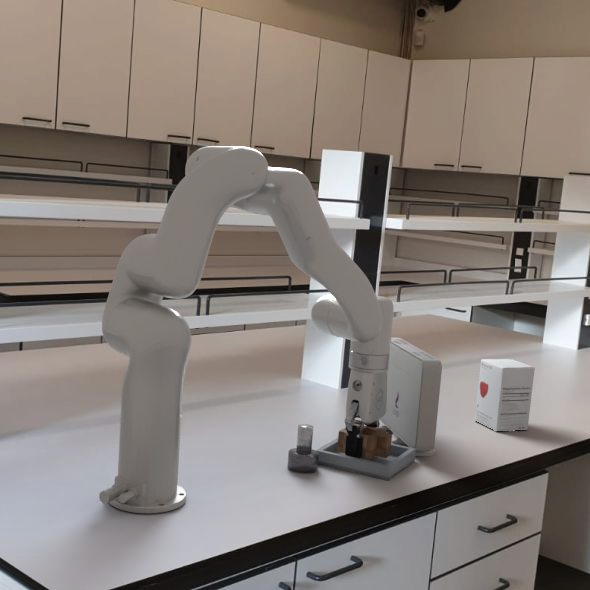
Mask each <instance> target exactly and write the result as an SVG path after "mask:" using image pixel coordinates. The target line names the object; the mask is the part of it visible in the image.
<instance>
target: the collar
mask: <svg viewBox="0 0 590 590" xmlns="http://www.w3.org/2000/svg"><path fill="white" fill-rule="evenodd" d="M354 425H356V426H357V429H358V428H359V424H354ZM387 431H388V430H384V429H379V428H374V427H369V426H366V425H364V428H363V432H362V436H361V437H363V447H362V457H364V458H368V459H372V458H374V457H375V456H378V457H382V458H387V457H388V456H390V453H391V441H392V435H393V434H390V433H387ZM337 436H338V437H337V438H338V447H337V452H341V453H345V448H346V427H344V428H341V429H339V430H338V435H337Z"/></svg>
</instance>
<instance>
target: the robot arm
mask: <svg viewBox="0 0 590 590" xmlns="http://www.w3.org/2000/svg"><path fill="white" fill-rule="evenodd" d="M184 171H185V172H184V174H185V176H184V177H183V178H182V179H181V180H180V181H179V182H178V184H177V185H176V187H175V189H174V190H173V191H172V193H171V195H170V196H169V199H168V201H167V204H166V207H165V210H164V213H163V215H162V218H161V220H160V223H159V227H158V230H157V232H156V233H149V234H148V233H147V234H142V235H139V236H137V237H135V238H134V239H132V240H131V242H129V244H128V245H126V246H125V249H124V250H123V251H122V254H121V255H120V258H119V260H118V262H117V266H116V268H115V273H114V276H113V279H112V282H111V286H110V289H109V292H108V296H107V299H106V302H105V305H104V310H103V314H102V321H101V331H102V336H103V338H104V340H105V342H106V343H107V344H108V346H109V347H110V348H112V349H113V350H115V351H116V352H118V353H119V354H123V355H124V356H126V357H128V358H129V362H128V365H127V369H126V371H125V374H124V378H123V381H122V388H121V396H120V397H121V400H120V421H119V442H118V443H119V445H118V462H117V463H118V464H117V465H118V466H117V475H116V476H114V484H112V486H111V487H109V488H107V489H104V490H102V491H100V492H99V494H98V495H99V497H98V498H99V501H100V502H101V503H102V504H110V506H112V507H114V508H115V509H118V510H121V511H123V512H129V513H134V514H161V513H167V512H170V511H174V510H176V509H178V508H180V507H182V506H184V505H185V503H186V502H187V490H186V489H185V488H183V487H182V486H180V485H178V483H179V482H178V480H179V479H178V478H179V464H180V462H179V461H180V449H181V448H180V446H181V445H180V444H181V443H180V442H181V428H182V427H181V426H182V414H183V412H182V411H183V410H182V409H183V395H184V394H183V391H184V381H185V374H186V369H187V365H188V360H189V356H190V352H191V347H192V333H191V332H192V331H191V329H190V325H189V324H188V322H187V321H186V319H185V318H184V317H183V316H182V314H180V312H178V311H176V310H174V309H173V308H171V307H168V306H167V305H162V302H163V299H164V298H168V299H177V300H179V299H185V298H188V297H190V296H191V295H193V294H194V292H195V291H196V290H197V289H198V286H199V284H200V283H201V280H202V276H203V273H204V269H205V265H206V264H207V263H206V262H207V260H208V256H209V253H210V249H211V245H212V243H213V238H214V235H215V232H216V230H217V228H218V225H219V222H220V220H221V219H222V217H223V215H224V214H225V213H226V212H227V210H229V209H230V208H234V209H237V210H241V211H242V212H243V211H245V212H248V213H251V214H255V215H261V216H268V217H270V218H271V219H272V222H273V224H274V226H275V229H276V230H277V232H278V235H279V236H280V239H281V242H282V243H283V245H284V249H285V250H286V252H287V255H288V257H289V260H290V261H291V263H293V265H295V267H297V268H298V270H300V271H302V272H303V273H304V274H305V275H307V276H308V277H310V278H311V279H313V280H314V281H316V282H317V283H319V284H320V285H321V286H322V287H324V289H326V290H327V291H328V292H329V293H330V294H325V295H323V296H321V297H319V298H318V299H317V300H316V301H315V302H314V304H313V306H312V308H311V311H310V312H311V313H310V317H311V321H312V323H313V325H314V326H315V327H316V328H317V329H318V330H319V331H321V332H322V333H324V334H327V335H330V336H334V337H337V338H342V339H346V340H348V341H349V340H350V348H349V356H348V357H349V358H348V368H349V369H350V374H349V379H348V385H347V391H346V392H347V393H346V400H345V418H344V423H345V428H346V448H345V455H346V456H350V457H355V458H361V457H362V447H363V437H361V436H362V432H363V428H364V426H369V427H374V428H379V426H381V425H380V423H381V421H380V420H379V419H380V418H382V417H383V416H384V415H385V414H386V406H387V371H388V366H389V355H390V344H391V338H392V334H393V333H392V332H393V331H392V330H393V320H394V308H395V307H394V302H393V300H391V298H388V297H386V296H382V295H381V296H380V295H377V294H376V292H375V290H374V288H373V285H372V284H371V282H370V280H369V279H368V276H367V275H366V274H365V273H364V271H363V270H362V269H361V268H360V267H359V265H358V264H356V263H355V261H354V260H353V259H352V257H351V256H350V255H349V254H348V253H347V252H346V251H345V250H344V249H343V248H342V247H341V246H340V245H339V244H338V242H337V241H336V239H335V237H334V235H333V233H332V230H331V228H330V226H329V223H328V222H327V219H326V215H325V214H324V211H323V210H322V206H321V204H320V201H319V198H318V197H317V194H316V192H315V190H314V187H313V185H312V183H311V181H310V179H309V178H308V177H307V176H306V175H305V173H303V172H302V171H299V170H297V169H294V168H287V167H272V166H269V163H268V160H267V159H266V157H265V155H263V154H262V152H260V151H258V150H257V149H255V148H251V147H247V146H239V145H238V146H234V145H231V146H227V145H226V146H222V145H221V146H220V145H219V146H215V145H212V146H210V145H209V146H202V147H200V148H198V149H196V150H195V151H193V153H191V154H190V156H189V157H188V158H187V161H186V163H185V170H184ZM356 418H358V419H356ZM359 419H360V420H359ZM354 424H359V428H358V429H357V426H356V425H354Z"/></svg>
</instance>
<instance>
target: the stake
mask: <svg viewBox="0 0 590 590" xmlns="http://www.w3.org/2000/svg"><path fill="white" fill-rule="evenodd" d="M296 435H297V436H296V437H297V438H296V447H294V448H290V449H289V450H288V457H287V469H288V470H289V471H290V472H293V473H297V474H312V473H317V471H318V470H319V468H318V467H319V464H318V459H319V453H318V452H317V451H315V450H316V449H312V448H313V437H314V436H313V435H314V425H312V424H308V423H301V424H298V425H297V434H296Z"/></svg>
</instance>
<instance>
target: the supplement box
mask: <svg viewBox="0 0 590 590" xmlns="http://www.w3.org/2000/svg"><path fill="white" fill-rule="evenodd" d="M479 367H480V368H479V376H478V386H477V394H476V395H477V396H476V406H475V415H474V422H475V421H477V422H479V423H481V424H483V425H485V426H487V427H489V428H491V429H493V430H494V431H493V430H492V431H493V432H495V431H509V432H514V431H513V430H527V429H528V427H529V421H530V420H529V419H530V411H531V403H532V396H533V395H532V393H533V386H534V376H535V370H536V369H535V368H536V367H535V366H532V365H529V364H526V363H524V362H521V361H518V360H515V359H513V358H482V359H480V365H479ZM477 422H476V423H477ZM479 423H478V424H479ZM481 424H480V425H481ZM483 425H482V426H483ZM485 426H484V427H485ZM487 427H486V428H487ZM489 428H488V429H489ZM491 429H490V430H491ZM527 431H528V430H527Z"/></svg>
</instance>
